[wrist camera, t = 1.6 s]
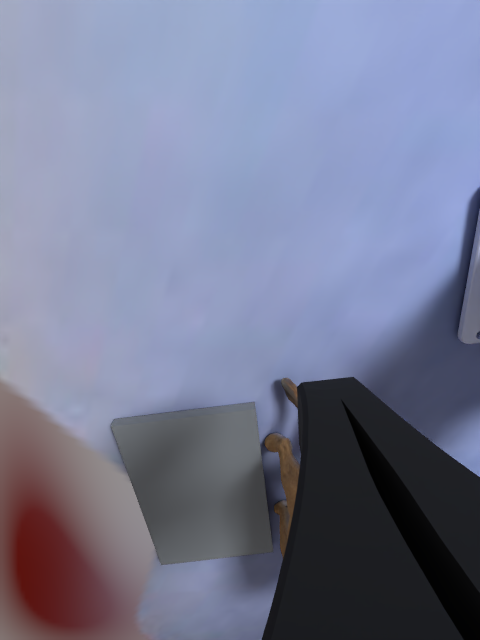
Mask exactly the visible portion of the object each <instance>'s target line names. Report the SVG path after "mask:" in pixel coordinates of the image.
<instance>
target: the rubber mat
mask: <svg viewBox="0 0 480 640" xmlns="http://www.w3.org/2000/svg"><path fill="white" fill-rule="evenodd" d="M111 428H112V431H113V434H114V436H115V439H116V442H117V444H118V447H119V450H120V453H121V455H122V458H123V461H124V464H125V466H126V469H127V472H128V475H129V477H130V480H131V483H132V486H133V488H134V491H135V494H136V496H137V499H138V502H139V505H140V508H141V510H142V513H143V516H144V519H145V521H146V524H147V527H148V530H149V532H150V535H151V538H152V541H153V543H154V546H155V549H156V552H157V554H158V557H159V560H160V563H161V565H167V564H175V563H184V562H192V561H201V560H210V559H218V558H227V557H235V556H244V555H253V554H261V553H270V552H273V546H272V538H271V530H270V521H269V513H268V505H267V497H266V489H265V481H264V473H263V465H262V457H261V449H260V441H259V433H258V425H257V417H256V409H255V402H251V403H242V404H234V405H226V406H218V407H210V408H201V409H193V410H185V411H177V412H168V413H160V414H152V415H144V416H135V417H127V418H119V419H114V420H113V423H112V425H111Z"/></svg>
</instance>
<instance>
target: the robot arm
mask: <svg viewBox="0 0 480 640" xmlns="http://www.w3.org/2000/svg"><path fill="white" fill-rule="evenodd" d="M479 331H480V210H479V216H478V222H477V227H476V233H475V239H474V244H473V250H472V256H471V261H470V267H469V273H468V278H467V284H466V290H465V296H464V301H463V307H462V313H461V318H460V324H459V330H458V338H459V340H461V341H462V342H463V343H465V344H474V343H480V334H479V335H477V333H478V332H479ZM297 400H298V425H299V445H300V451H301V461H300V469H299V477H298V485H297V492H296V498H295V504H294V510H293V515H292V521H291V526H290V531H289V535H288V540H287V545H286V549H285V553H284V558H283V562H282V566H281V570H280V574H279V579H278V583H277V587H276V591H275V595H274V598H273V602H272V606H271V610H270V613H269V617H268V620H267V624H266V627H265V631H264V634H263V637H262V640H480V477H479V476H477V475H476V474H474V473H473V472H472V471H470V470H469V469H467V468H466V467H465V466H463V465H462V464H460V463H459V462H458V461H456V460H455V459H454V458H452V457H451V456H449V455H448V454H447V453H445V452H444V451H443V450H441V449H440V448H439V447H437V446H436V445H435V444H434V443H432V442H431V441H430V440H428V439H427V438H426V437H425V436H423V435H422V434H421V433H420V432H418V431H417V430H416V429H415V428H413V427H412V426H411V425H410V424H408V423H407V422H406V421H405V420H404V419H402V418H401V417H400V416H399V415H398V414H396V413H395V412H394V411H393V410H392V409H390V408H389V407H388V406H387V405H386V404H385V403H383V402H382V401H381V400H380V399H379V398H378V397H376V396H375V395H374V394H373V393H372V392H371V391H369V390H368V389H367V388H366V387H365V386H364V385H362V384H361V383H360V382H359V381H358V380H357V379H355V378H354V377H348V378H339V379H330V380H321V381H312V382H303V383H301V384H300V385H299V386H298V387H297Z"/></svg>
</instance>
